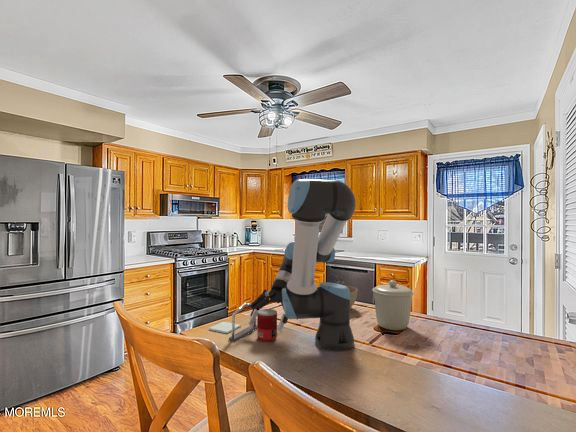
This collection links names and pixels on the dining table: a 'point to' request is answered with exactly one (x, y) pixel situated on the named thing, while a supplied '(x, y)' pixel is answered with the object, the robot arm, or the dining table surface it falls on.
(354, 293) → the planter bowl
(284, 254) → the robot arm
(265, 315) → the canned food
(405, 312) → the canister
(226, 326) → the sage mat
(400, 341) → the dining table surface
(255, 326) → the metal handle
